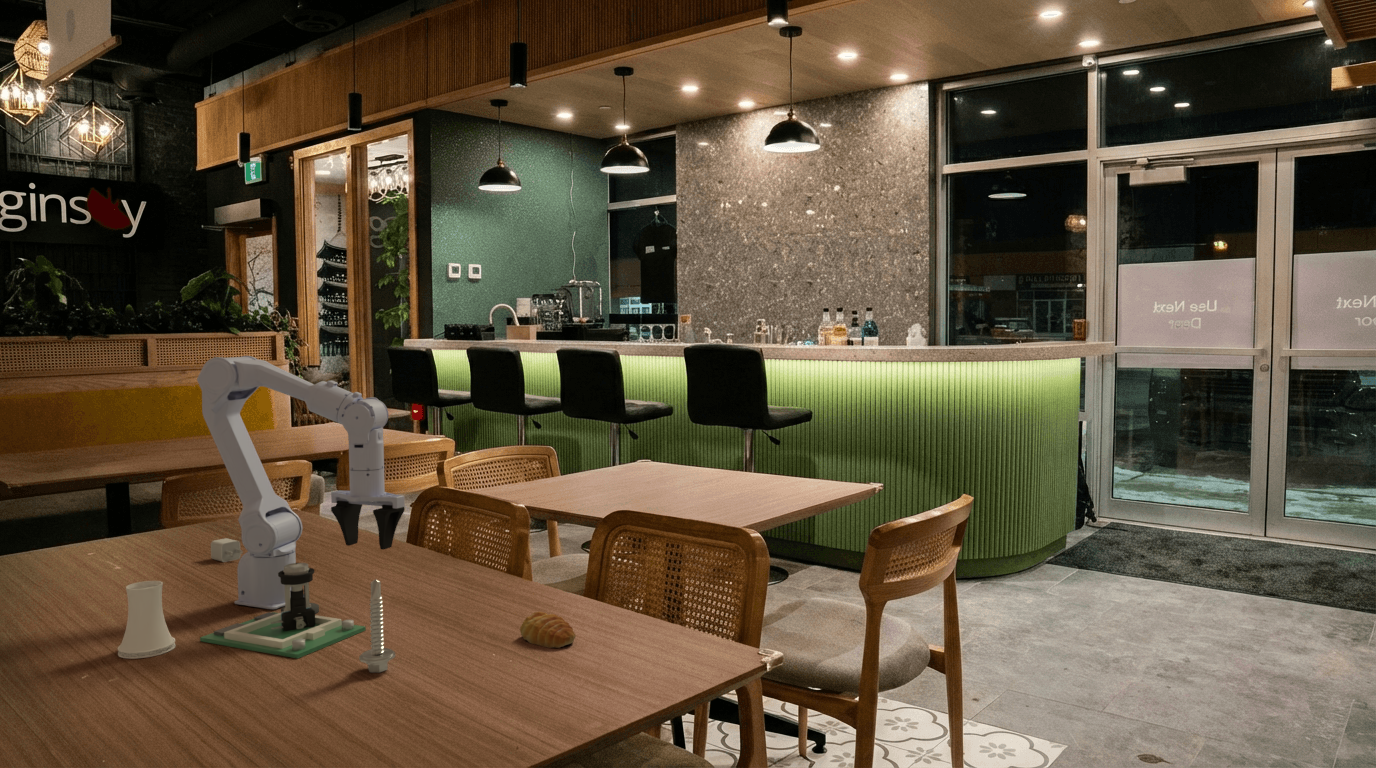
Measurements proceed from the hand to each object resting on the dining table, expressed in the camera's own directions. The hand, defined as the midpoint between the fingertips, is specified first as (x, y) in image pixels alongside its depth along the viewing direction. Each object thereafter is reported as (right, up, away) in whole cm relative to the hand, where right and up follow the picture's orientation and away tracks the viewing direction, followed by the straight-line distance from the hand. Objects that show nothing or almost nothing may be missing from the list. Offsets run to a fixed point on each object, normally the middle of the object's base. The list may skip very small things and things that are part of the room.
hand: (368, 546), depth 163 cm
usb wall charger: (-41, -9, +34) cm, 53 cm away
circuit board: (-8, -11, -15) cm, 21 cm away
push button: (-7, -11, -14) cm, 19 cm away
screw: (+12, -12, -30) cm, 35 cm away
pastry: (+34, -12, -17) cm, 40 cm away
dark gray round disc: (-11, -11, -3) cm, 16 cm away
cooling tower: (-26, -12, -22) cm, 36 cm away
